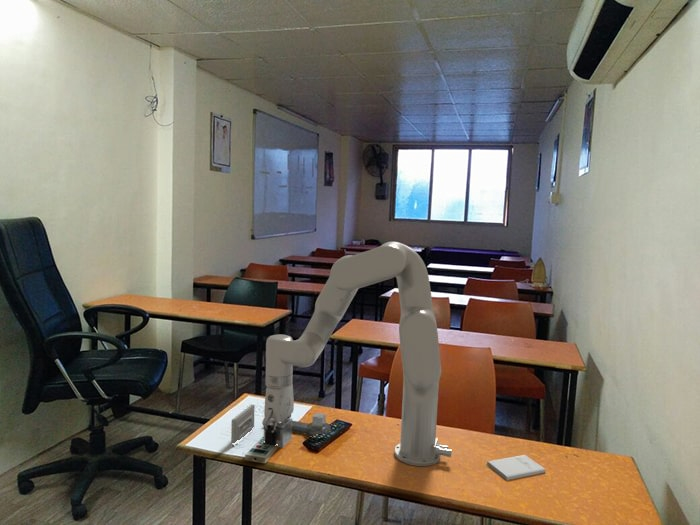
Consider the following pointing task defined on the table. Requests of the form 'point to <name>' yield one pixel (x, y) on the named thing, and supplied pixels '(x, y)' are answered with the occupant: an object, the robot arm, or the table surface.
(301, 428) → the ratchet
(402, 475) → the table surface
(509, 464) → the external hard drive
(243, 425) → the cassette
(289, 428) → the grey block
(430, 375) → the robot arm
